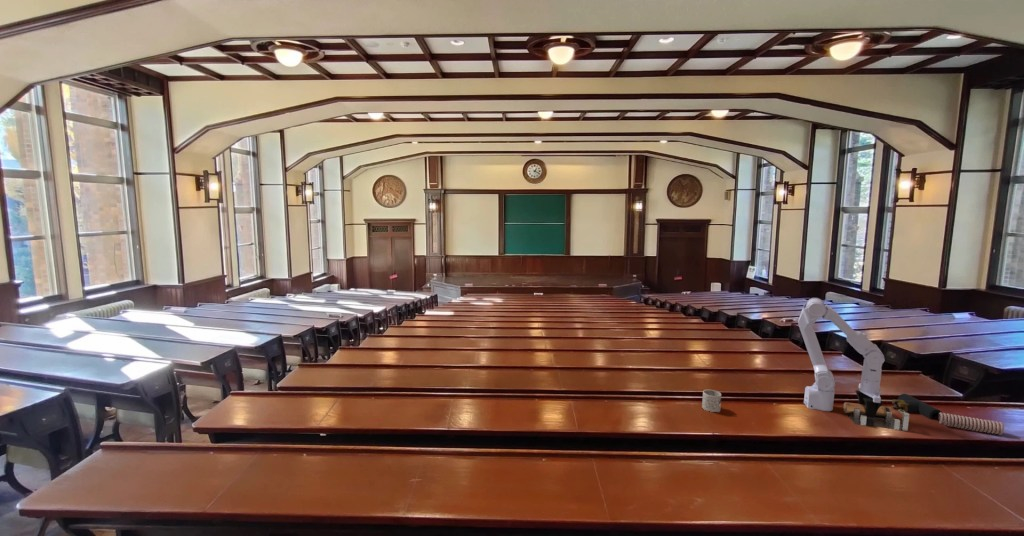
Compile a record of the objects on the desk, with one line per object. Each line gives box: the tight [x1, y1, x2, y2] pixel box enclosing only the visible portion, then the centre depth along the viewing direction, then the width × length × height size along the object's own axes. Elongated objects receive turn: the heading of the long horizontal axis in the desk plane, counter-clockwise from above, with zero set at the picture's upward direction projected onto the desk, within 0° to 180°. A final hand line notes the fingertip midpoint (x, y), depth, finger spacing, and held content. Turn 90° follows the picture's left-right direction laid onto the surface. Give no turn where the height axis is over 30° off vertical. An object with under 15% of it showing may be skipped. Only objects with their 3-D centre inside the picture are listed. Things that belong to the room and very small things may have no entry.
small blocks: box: [853, 408, 901, 431], centre depth 171 cm, size 12×7×4 cm, turn 72°
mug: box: [701, 389, 722, 413], centre depth 186 cm, size 10×7×7 cm, turn 179°
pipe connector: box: [890, 393, 943, 421], centre depth 182 cm, size 12×5×15 cm
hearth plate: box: [845, 413, 909, 432], centre depth 174 cm, size 16×12×2 cm
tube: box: [843, 402, 893, 418], centre depth 178 cm, size 14×4×4 cm, turn 72°
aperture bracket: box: [897, 410, 910, 432], centre depth 167 cm, size 2×4×6 cm, turn 162°
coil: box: [938, 411, 1005, 436], centre depth 169 cm, size 5×5×18 cm
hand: (866, 413), depth 177 cm, fingers open, 6 cm apart
